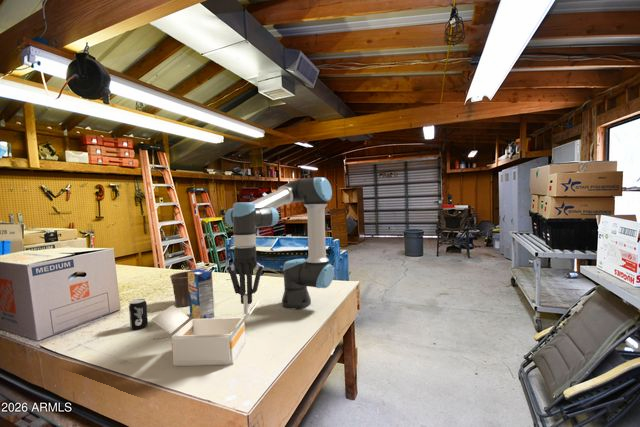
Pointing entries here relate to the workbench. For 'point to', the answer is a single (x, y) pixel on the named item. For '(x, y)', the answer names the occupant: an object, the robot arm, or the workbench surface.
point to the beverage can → (138, 314)
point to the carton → (208, 342)
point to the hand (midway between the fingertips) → (246, 312)
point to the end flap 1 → (170, 319)
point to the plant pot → (180, 288)
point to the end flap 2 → (246, 316)
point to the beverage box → (201, 294)
